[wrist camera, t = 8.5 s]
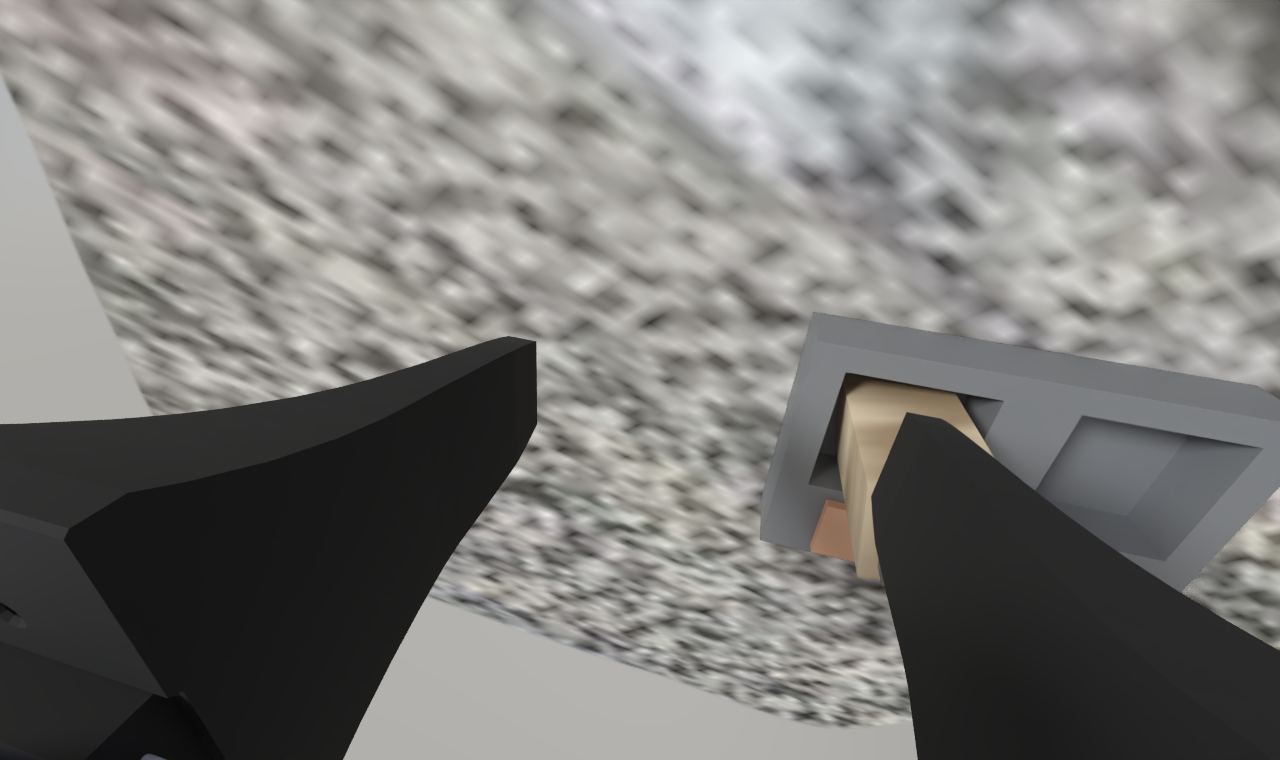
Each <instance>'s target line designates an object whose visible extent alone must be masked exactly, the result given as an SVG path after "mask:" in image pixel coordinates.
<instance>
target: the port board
mask: <svg viewBox="0 0 1280 760" xmlns="http://www.w3.org/2000/svg"><path fill="white" fill-rule="evenodd" d="M845 373H854V374H859V375H865V376H870V377H876V378H881V379H887V380H892V381H898V382H903V383H909V384H914V385H920V386H925V387H930V388H936V389H941V390H947V391H952V392H955V394H956V395H957V397H958V399H959V400H960V402H961V403H962V405H963V407H964V408H965V410H966V412H967V413H968V415H969V417H970V418H971V420H972V422H973V423H974V425H975V427H976V428H977V430H978V432H979V433H980V435H981V436H982V438H983V440H984V441H985V443H986V445H987V446H988V448H989V450H990V451H991V453H992V455H993V456H994V458H995V459H996V460H997V461H999V462H1000V463H1001V464H1002V465H1004V466H1005V467H1006V468H1007V469H1009V470H1010V471H1011V472H1012V473H1013V474H1015V475H1016V476H1017V477H1018V478H1020V479H1021V480H1022V481H1023V482H1025V483H1026V484H1027V485H1028V486H1030V487H1031V488H1032V489H1034V490H1035V491H1036V492H1037V493H1039V494H1040V495H1041V496H1042V497H1044V498H1045V499H1046V500H1048V501H1049V502H1050V503H1052V504H1053V505H1054V506H1056V507H1057V508H1058V509H1059V510H1061V511H1062V512H1063V513H1065V514H1066V515H1067V516H1069V517H1070V518H1072V519H1073V520H1074V521H1076V522H1077V523H1078V524H1080V525H1081V526H1083V527H1084V528H1085V529H1087V530H1088V531H1089V532H1091V533H1092V534H1093V535H1095V536H1096V537H1098V538H1099V539H1100V540H1102V541H1103V542H1105V543H1106V544H1107V545H1109V546H1110V547H1112V548H1113V549H1115V550H1116V551H1118V552H1119V553H1120V554H1122V555H1123V556H1125V557H1126V558H1128V559H1129V560H1131V561H1132V562H1134V563H1135V564H1137V565H1139V566H1140V567H1142V568H1143V569H1145V570H1146V571H1148V572H1149V573H1151V574H1152V575H1154V576H1156V577H1157V578H1159V579H1160V580H1162V581H1163V582H1165V583H1166V584H1168V585H1169V586H1171V587H1173V588H1174V589H1176V590H1177V591H1179V592H1181V591H1182V590H1183V589H1184V588H1185V587H1186V586H1187V585H1188V584H1189V583H1190V582H1191V581H1192V580H1193V579H1194V578H1195V576H1196V575H1197V574H1198V573H1199V572H1200V571H1201V570H1202V569H1203V568H1204V567H1205V566H1206V565H1207V564H1208V563H1209V562H1210V560H1211V559H1212V558H1213V557H1214V556H1215V555H1216V554H1217V553H1218V552H1219V551H1220V550H1221V549H1222V548H1223V547H1224V546H1225V544H1226V543H1227V542H1228V541H1229V540H1230V539H1231V538H1232V537H1233V536H1234V535H1235V534H1236V533H1237V532H1238V531H1239V530H1240V528H1241V527H1242V526H1243V525H1244V524H1245V523H1246V522H1247V521H1248V520H1249V519H1250V518H1251V517H1252V516H1253V515H1254V514H1255V512H1256V511H1257V510H1258V509H1259V508H1260V507H1261V506H1262V505H1263V504H1264V503H1265V502H1266V501H1267V500H1268V499H1269V498H1270V496H1271V495H1272V494H1273V493H1274V492H1275V491H1276V490H1277V489H1278V488H1279V487H1280V399H1278V398H1276V397H1275V396H1273V395H1271V394H1270V393H1268V392H1266V391H1265V390H1263V389H1261V388H1260V387H1258V386H1253V385H1247V384H1241V383H1235V382H1229V381H1223V380H1217V379H1211V378H1205V377H1199V376H1193V375H1187V374H1181V373H1175V372H1169V371H1163V370H1157V369H1151V368H1145V367H1139V366H1133V365H1127V364H1121V363H1115V362H1109V361H1103V360H1097V359H1091V358H1085V357H1079V356H1073V355H1067V354H1061V353H1055V352H1050V351H1044V350H1038V349H1032V348H1026V347H1020V346H1014V345H1008V344H1002V343H996V342H990V341H984V340H978V339H972V338H966V337H960V336H954V335H948V334H942V333H936V332H930V331H924V330H918V329H912V328H906V327H900V326H894V325H888V324H882V323H876V322H870V321H864V320H858V319H852V318H846V317H840V316H834V315H828V314H822V313H816V312H813V315H812V319H811V322H810V326H809V330H808V333H807V337H806V340H805V344H804V347H803V351H802V355H801V358H800V362H799V365H798V369H797V373H796V376H795V380H794V383H793V387H792V390H791V394H790V398H789V401H788V405H787V408H786V412H785V415H784V419H783V423H782V426H781V430H780V433H779V437H778V440H777V444H776V448H775V451H774V455H773V458H772V462H771V465H770V469H769V473H768V476H767V480H766V483H765V487H764V490H763V494H762V498H761V526H760V540H762V541H766V542H770V543H775V544H779V545H783V546H787V547H792V548H796V549H800V550H804V551H809V552H813V553H817V554H821V555H826V556H830V557H834V558H838V559H842V560H847V561H851V562H855V560H854V554H853V548H852V543H851V537H850V531H849V525H848V519H847V513H846V507H845V501H844V496H843V490H842V484H841V478H840V472H839V466H838V460H837V454H836V449H835V447H836V434H837V421H838V408H839V394H840V388H841V385H842V382H843V379H844V376H845Z"/></svg>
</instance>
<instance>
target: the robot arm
mask: <svg viewBox="0 0 1280 760" xmlns="http://www.w3.org/2000/svg"><path fill="white" fill-rule="evenodd" d="M536 425H537V369H536V341H531V340H526V339H521V338H516V337H510V336H507V337H502V338H497V339H494V340H490V341H487V342H484V343H481V344H478V345H475V346H472V347H469V348H466V349H463V350H460V351H457V352H454V353H451V354H448V355H445V356H442V357H439V358H437V359H434V360H431V361H428V362H425V363H422V364H419V365H416V366H412V367H409V368H406V369H402V370H399V371H396V372H393V373H389V374H386V375H383V376H380V377H376V378H373V379H370V380H366V381H362V382H359V383H355V384H351V385H347V386H343V387H339V388H334V389H330V390H325V391H321V392H316V393H312V394H307V395H302V396H297V397H292V398H286V399H280V400H274V401H268V402H262V403H255V404H249V405H243V406H237V407H231V408H224V409H216V410H208V411H199V412H191V413H182V414H171V415H161V416H150V417H139V418H125V419H112V420H92V421H71V422H51V423H29V424H0V760H343V758H344V756H345V754H346V752H347V750H348V748H349V746H350V743H351V741H352V739H353V737H354V735H355V733H356V731H357V729H358V727H359V724H360V722H361V720H362V718H363V716H364V714H365V712H366V710H367V708H368V706H369V705H370V702H371V700H372V699H373V697H374V695H375V692H376V691H377V689H378V687H379V685H380V683H381V681H382V679H383V676H384V675H385V673H386V671H387V669H388V667H389V665H390V663H391V661H392V659H393V657H394V655H395V654H396V652H397V650H398V648H399V646H400V644H401V642H402V641H403V639H404V637H405V635H406V633H407V631H408V629H409V628H410V626H411V624H412V622H413V620H414V618H415V616H416V615H417V613H418V611H419V609H420V607H421V606H422V603H423V602H424V600H425V599H426V597H427V595H428V593H429V592H430V590H431V588H432V586H433V585H434V583H435V581H436V579H437V578H438V576H439V574H440V572H441V571H442V569H443V567H444V566H445V564H446V562H447V561H448V559H449V558H450V556H451V555H452V553H453V552H454V550H455V549H456V547H457V546H458V544H459V543H460V541H461V540H462V539H463V537H464V536H465V535H466V533H467V532H468V530H469V529H470V528H471V526H472V525H473V524H474V522H475V521H476V519H477V518H478V517H479V515H480V514H481V512H482V511H483V510H484V508H485V507H486V506H487V504H488V503H489V501H490V500H491V499H492V497H493V496H494V495H495V493H496V492H497V490H498V489H499V488H500V486H501V485H502V483H503V482H504V481H505V479H506V478H507V476H508V475H509V474H510V472H511V471H512V469H513V468H514V466H515V465H516V463H517V462H518V460H519V458H520V457H521V455H522V453H523V451H524V449H525V447H526V445H527V443H528V441H529V439H530V437H531V435H532V433H533V431H534V429H535V427H536ZM871 503H872V518H873V529H874V539H875V546H876V551H877V555H878V559H879V564H880V568H881V572H882V576H883V581H884V585H885V589H886V593H887V597H888V601H889V605H890V609H891V614H892V618H893V622H894V626H895V630H896V634H897V638H898V642H899V646H900V650H901V655H902V659H903V663H904V668H905V673H906V678H907V684H908V689H909V696H910V704H911V711H912V719H913V726H914V734H915V741H916V749H917V757H918V760H1280V651H1279V650H1277V649H1275V648H1273V647H1272V646H1270V645H1268V644H1266V643H1265V642H1263V641H1261V640H1259V639H1258V638H1256V637H1254V636H1252V635H1251V634H1249V633H1247V632H1246V631H1244V630H1242V629H1240V628H1239V627H1237V626H1235V625H1233V624H1232V623H1230V622H1228V621H1226V620H1225V619H1223V618H1221V617H1220V616H1218V615H1216V614H1215V613H1213V612H1211V611H1210V610H1208V609H1206V608H1205V607H1203V606H1201V605H1200V604H1198V603H1196V602H1195V601H1193V600H1191V599H1190V598H1188V597H1187V596H1185V595H1183V594H1182V593H1180V592H1179V591H1177V590H1176V589H1174V588H1173V587H1171V586H1169V585H1168V584H1166V583H1165V582H1163V581H1162V580H1160V579H1159V578H1157V577H1156V576H1154V575H1152V574H1151V573H1149V572H1148V571H1146V570H1145V569H1143V568H1142V567H1140V566H1139V565H1137V564H1135V563H1134V562H1132V561H1131V560H1129V559H1128V558H1126V557H1125V556H1123V555H1122V554H1120V553H1119V552H1118V551H1116V550H1115V549H1113V548H1112V547H1110V546H1109V545H1107V544H1106V543H1105V542H1103V541H1102V540H1100V539H1099V538H1098V537H1096V536H1095V535H1093V534H1092V533H1091V532H1089V531H1088V530H1087V529H1085V528H1084V527H1083V526H1081V525H1080V524H1078V523H1077V522H1076V521H1074V520H1073V519H1072V518H1070V517H1069V516H1067V515H1066V514H1065V513H1063V512H1062V511H1061V510H1059V509H1058V508H1057V507H1056V506H1054V505H1053V504H1052V503H1050V502H1049V501H1048V500H1046V499H1045V498H1044V497H1042V496H1041V495H1040V494H1039V493H1037V492H1036V491H1035V490H1034V489H1032V488H1031V487H1030V486H1028V485H1027V484H1026V483H1025V482H1023V481H1022V480H1021V479H1020V478H1018V477H1017V476H1016V475H1015V474H1013V473H1012V472H1011V471H1010V470H1009V469H1007V468H1006V467H1005V466H1004V465H1002V464H1001V463H1000V462H999V461H997V460H996V459H995V458H994V457H992V456H991V455H990V454H989V453H988V452H986V451H985V450H984V449H983V448H981V447H980V446H979V445H978V444H976V443H975V442H974V441H973V440H971V439H970V438H969V437H967V436H966V435H965V434H964V433H962V432H961V431H960V430H958V429H957V428H955V427H954V426H953V425H951V424H950V423H948V422H947V421H945V420H943V419H941V418H936V417H930V416H925V415H920V414H915V413H909V412H906V414H905V417H904V419H903V422H902V424H901V426H900V429H899V431H898V433H897V436H896V438H895V441H894V443H893V445H892V448H891V450H890V452H889V455H888V457H887V460H886V462H885V464H884V467H883V469H882V471H881V474H880V476H879V479H878V481H877V483H876V486H875V488H874V490H873V493H872V495H871Z"/></svg>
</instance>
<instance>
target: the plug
mask: <svg viewBox="0 0 1280 760" xmlns="http://www.w3.org/2000/svg"><path fill="white" fill-rule="evenodd" d="M906 412H909V413H915V414H920V415H925V416H930V417H936V418H941V419H943V420H945V421H947V422H948V423H950V424H951V425H953V426H954V427H955V428H957V429H958V430H960V431H961V432H962V433H964V434H965V435H966V436H967V437H969V438H970V439H971V440H973V441H974V442H975V443H976V444H978V445H979V446H980V447H981V448H983V449H984V450H985V451H986V452H988V453H989V454H990V455H991V456H992V457H994V456H993V455H992V453H991V451H990V450H989V448H988V446H987V445H986V443H985V441H984V440H983V438H982V436H981V435H980V433H979V432H978V430H977V428H976V427H975V425H974V423H973V422H972V420H971V418H970V417H969V415H968V413H967V412H966V410H965V408H964V407H963V405H962V403H961V402H960V400H959V399H958V397H957V395H956V394H955V392H952V391H947V390H941V389H936V388H930V387H925V386H920V385H914V384H909V383H903V382H898V381H892V380H887V379H881V378H876V377H870V376H865V375H859V374H854V373H845V376H844V379H843V382H842V385H841V388H840V394H839V408H838V421H837V434H836V447H835V449H836V454H837V460H838V466H839V472H840V478H841V484H842V490H843V496H844V501H845V507H846V513H847V519H848V525H849V531H850V537H851V543H852V548H853V554H854V560H855V566H856V572H857V577H861V578H871V579H880V580H881V585H882V587H885V585H884V581H883V576H882V572H881V568H880V564H879V559H878V555H877V551H876V546H875V539H874V529H873V518H872V503H871V495H872V493H873V490H874V488H875V486H876V483H877V481H878V479H879V476H880V474H881V471H882V469H883V467H884V464H885V462H886V460H887V457H888V455H889V452H890V450H891V448H892V445H893V443H894V441H895V438H896V436H897V433H898V431H899V429H900V426H901V424H902V422H903V419H904V417H905V414H906Z"/></svg>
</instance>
